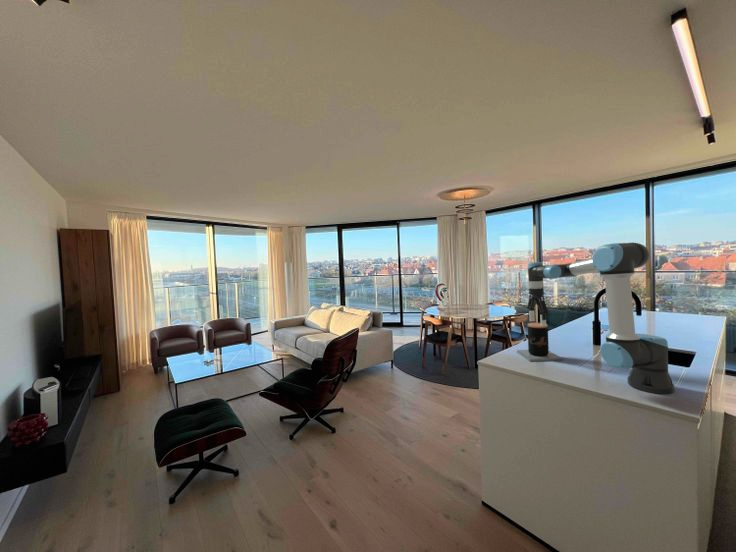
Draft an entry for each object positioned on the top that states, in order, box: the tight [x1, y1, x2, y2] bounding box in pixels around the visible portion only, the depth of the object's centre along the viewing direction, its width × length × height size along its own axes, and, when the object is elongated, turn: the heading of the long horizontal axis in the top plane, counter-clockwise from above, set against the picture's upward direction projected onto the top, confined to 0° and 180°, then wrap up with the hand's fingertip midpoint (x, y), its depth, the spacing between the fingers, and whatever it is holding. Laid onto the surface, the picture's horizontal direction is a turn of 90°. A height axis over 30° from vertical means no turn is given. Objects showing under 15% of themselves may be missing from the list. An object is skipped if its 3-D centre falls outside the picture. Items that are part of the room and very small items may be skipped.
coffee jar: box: [527, 322, 550, 356], centre depth 181 cm, size 11×11×18 cm
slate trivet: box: [516, 349, 563, 363], centre depth 182 cm, size 18×18×1 cm
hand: (537, 323), depth 181 cm, fingers open, 13 cm apart
